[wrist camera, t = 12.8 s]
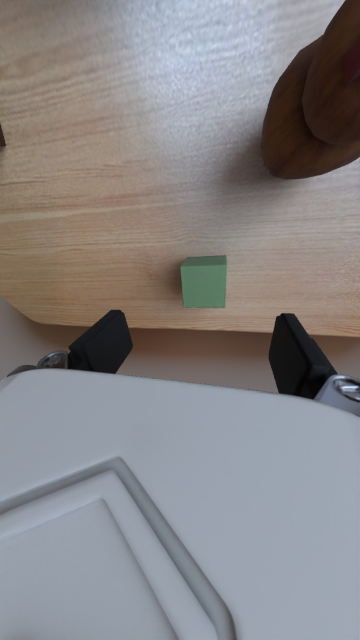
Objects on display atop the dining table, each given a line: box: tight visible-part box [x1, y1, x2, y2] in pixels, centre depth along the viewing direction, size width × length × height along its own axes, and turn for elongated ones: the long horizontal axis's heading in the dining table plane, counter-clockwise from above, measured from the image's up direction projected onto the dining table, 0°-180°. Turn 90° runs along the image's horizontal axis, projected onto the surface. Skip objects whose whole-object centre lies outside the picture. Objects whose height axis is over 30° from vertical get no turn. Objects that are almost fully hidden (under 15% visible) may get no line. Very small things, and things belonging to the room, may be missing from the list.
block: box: [180, 255, 227, 308], centre depth 20 cm, size 4×4×4 cm
